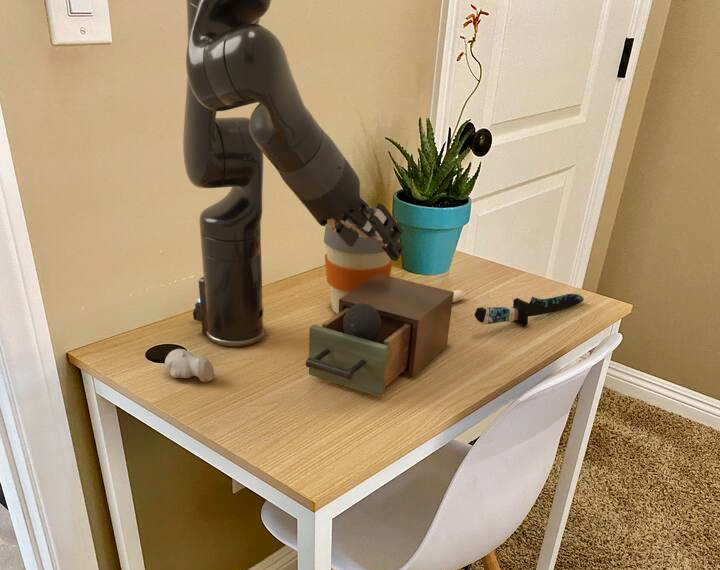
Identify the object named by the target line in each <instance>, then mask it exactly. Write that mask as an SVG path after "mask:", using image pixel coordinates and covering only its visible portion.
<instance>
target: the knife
mask: <svg viewBox="0 0 720 570" xmlns="http://www.w3.org/2000/svg"><path fill="white" fill-rule="evenodd" d="M584 299H585V298H584V297H583V296H582V295H580V294H579V293H567V294H562V295H558V296H553V297H548V298H537V297H535V296H531V298H530V301H529V302H527V301H525V300H522V299H520V298H518V297H516V298H514V299H513V301H512V302H513V303H512V306H492V307H491V306H481V307H477V308H476V310H475V312H474V317H475V318H476V320H477V321H478V323H479V324H482V325H483V326H485V325H490V324H499V323H505V322H512V321H513V322H514V323H516V324H518V325H519V326H522V327H526V326H527V325H529V317H536V316H542V315H547V314H552V313H556V312H560V311H563V310H566V309H570V308H572V307H576V305H579V304H581V303H582V302H583V301H584Z"/></svg>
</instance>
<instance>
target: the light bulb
mask: <svg viewBox="0 0 720 570" xmlns="http://www.w3.org/2000/svg"><path fill="white" fill-rule="evenodd" d="M343 328H344V331H345V334H348V335H352V336H356V337H359V338H363V339H366V340H370V341H374V340H375V338H376V337H377V335H378V334H379V331H380V328H381V318H380V315H379V313H378V312H377V310H376V309H375V308H374V307H372V306H370V305H368V304H364V303H360V304H356V305H354V306H352V307H350V308H349V309H348V310H347V312H346V314H345V316H344V319H343Z"/></svg>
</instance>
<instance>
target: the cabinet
mask: <svg viewBox="0 0 720 570" xmlns="http://www.w3.org/2000/svg"><path fill="white" fill-rule="evenodd" d="M452 291H453V290H452ZM452 291H451V290H448V289H443V288H440V287H436V286H430V285H427V284H423V283H419V282H416V281H411V280H407V279H403V278H399V277H395V276H392V275H390V276H387V275H383V274H378V275H376V276H375V277H373V278H372V279H370V280H369V281H367V282H365V283H364V284H362V285H361V286H359V287H358V288H356V289H354V290H353V291H351V292H350V293H348V294H347V295H345V296H343V297H342V298H340V299H339V312H341V311H343V310H344V309H346V308H347V307H352V306H354V305H356V304H360V303H364V304H368V305H370V306H372V307H374V308H375V309H376V310H377V312H378V313H379V315H381V316H385V317H389V318H393V319H396V320H400V321H404V322H407V323H411V324H413V332H412V342H411V352H410V362H409V366H408V367H407V368H406V369H405V370H404V371H403V372H401V373H400V374H399V375H401V376H405V377H408V378H411V379H413V378H414V377H415V376H416V375H417V374H418V373H420V372H421V371H422V370H423V369H424V368H425V367H426V366H427V365H428V364H429V363H430V362H432V361H433V359H435V358H436V357H437V356H438V355H440V353H442V352H443V351H444V350H445V349H446V348H447V347H448V340H449V339H448V338H449V331H450V324H451V318H452V317H451V316H452V309H453V303H452V302H453V295H454V292H452Z"/></svg>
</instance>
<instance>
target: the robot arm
mask: <svg viewBox="0 0 720 570" xmlns="http://www.w3.org/2000/svg"><path fill="white" fill-rule="evenodd" d="M271 3H272V0H186V23H187V25H186V26H187V28H186V29H187V46H186V54H185V67H186V68H185V71H186V75H187V77H186V89H185V90H186V92H185V105H184V120H183V132H182V133H183V134H182V135H183V136H182V154H183V164H184V168H185V169H184V170H185V172H186V173H185V174H186V175H187V178H188V180H189V182H190V183H191V184H192V185H193V186H194V187H196V188H199V189H219V188H221V189H222V188H230V190H229V192H228V193H227V194H226V195H225V196H224V197H223V198H221V199H220V200H218V201H216V202H215V203H213V204H211V205H209V206H208V207H206V208H204V209H203V210H202V211H201V213H200V215H199V234H200V245H201V246H200V247H201V249H200V250H201V262H202V263H201V264H202V277H200V278H199V279H198V292H199V293H198V294H199V298H198V300H197V302H196V303H195V304H194V307H195V308H194V309H193V311H192V317H193V321H197V322H200V323H201V333H202V335H204V336H206V337H207V339H208V340H209V341H210V342H212V343H213V344H217V345H220V346H224V347H245V346H250V345H253V344H256V343H258V342H260V341H261V340H262V339H263V337H264V336H265V332H264V310H265V309H264V306H265V305H264V303H263V269H262V268H263V267H262V265H263V264H262V225H261V224H262V217H263V189H264V187H263V185H264V184H263V183H264V156H265V157H266V158H267V159H268V161H269V162H270V163H271V164H272V165H273V167H274V168H275V169H276V171H277V172H278V174H279V175H280V177H281V179H282V180H283V182H284V184H286V186H287V187H288V188H289V189H290V191H292V193H293V194H294V195H295V196H296V198H297V199H298V200H299V202H301V204H302V205H303V206H304V207H305V208H306V209H307V211H308V212H309V214H310V215H311V216H312V217H313V218H314V220H315V221H316V222H317V223H318V225H320V226H321V227H325V226H326V224H327V225H329V228H330V230H331V231H334V232H337V234H338V235H339V236H340V237H341V239H342V240H343V241H344V242H345V243H346V245H347V246H350V247H353V246H354V244H355V242H356V241H357V239H358V237H359V234H360V235H361V236H363V237H364V238H365V239H370V238H371V239H373V240H374V241H375V242H377V243H378V244H379V245H380V246H381V247H382V248H383V250H384V251H385V252H386V253H387V255H388V256H389V257H390V259H391V260H393V262H397V261H399V259H400V257H402V256H401V255H402V254H403V253H404V251H405V249H404V246H403V245H402V244H401V242H400V239H401V237H402V236H403V234H404V229H403V228H402V227H401V225H400V224H399V223H398V222H397V220H396V219H395V218H394V217H393V214H392V213H391V212H390V211H389V210H388V208H387V207H386V206H385V205H384V204H382V203H377V205H376V206H375V208H374V207H372V206H371V205H369V203H368V201H367V200H366V199H365V198H363V197H362V196H361V190H360V189H361V182H360V178H359V175H358V174H357V172H356V171H355V170H354V168H353V167H352V165H351V164H350V163H349V161H348V160H347V159H346V157H345V156H344V154H343V153H342V151H341V149H339V147H338V146H337V144H336V143H335V142H334V140H333V139H332V138H331V137H330V135H328V133H327V132H326V131H324V129H323V128H322V127H321V125H320V124H319V122H317V120H316V119H315V117H314V115H313V114H312V113H311V111H309V109H308V108H307V107H306V105H305V103H304V101H303V99H302V96H301V93H300V90H299V88H298V85H297V83H296V80H295V77H294V75H293V72H292V69H291V66H290V62H289V60H288V56H287V53H286V51H285V48H284V46H283V45H282V42H281V40H279V38H278V37H277V36H276V35H275V33H273V32H272V31H271V30H269V29H268V28H266V27H264V26H263V25H261V24H260V22H261V18H263V16H265V14H266V13H267V12H268V11H269V9H270V7H271ZM257 103H258V104H257ZM252 104H257V105H256V107H255V108H254V109H253V111H251V114H250V117H246V116H231V117H228V116H227V117H217V112H224V111H225V112H226V111H229V110H233V109H237V108H241V107H244V106H248V105H252ZM367 221H369V223H370V228H369V229H368V231H366V230H365V229H363V228H364V226H365V225H366V223H367ZM376 231H377V232H378V234H379V235H380V236H381V237H379V236H378V235H377V234H376V233H375V232H376ZM358 233H359V234H358Z"/></svg>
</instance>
